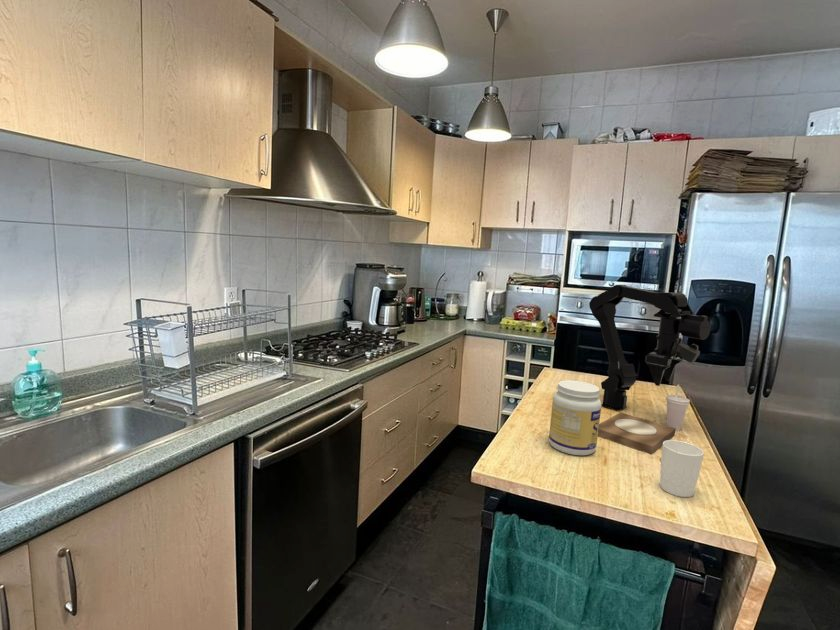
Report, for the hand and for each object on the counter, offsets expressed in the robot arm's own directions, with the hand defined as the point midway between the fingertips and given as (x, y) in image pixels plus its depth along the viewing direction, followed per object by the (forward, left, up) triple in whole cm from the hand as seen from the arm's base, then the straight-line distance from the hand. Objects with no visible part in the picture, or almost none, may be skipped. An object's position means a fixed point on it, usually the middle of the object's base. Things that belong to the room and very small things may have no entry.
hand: (662, 383), depth 140 cm
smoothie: (+5, 0, -13) cm, 14 cm away
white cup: (+17, -41, -14) cm, 46 cm away
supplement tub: (-9, -39, -13) cm, 42 cm away
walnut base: (-1, -16, -13) cm, 21 cm away
